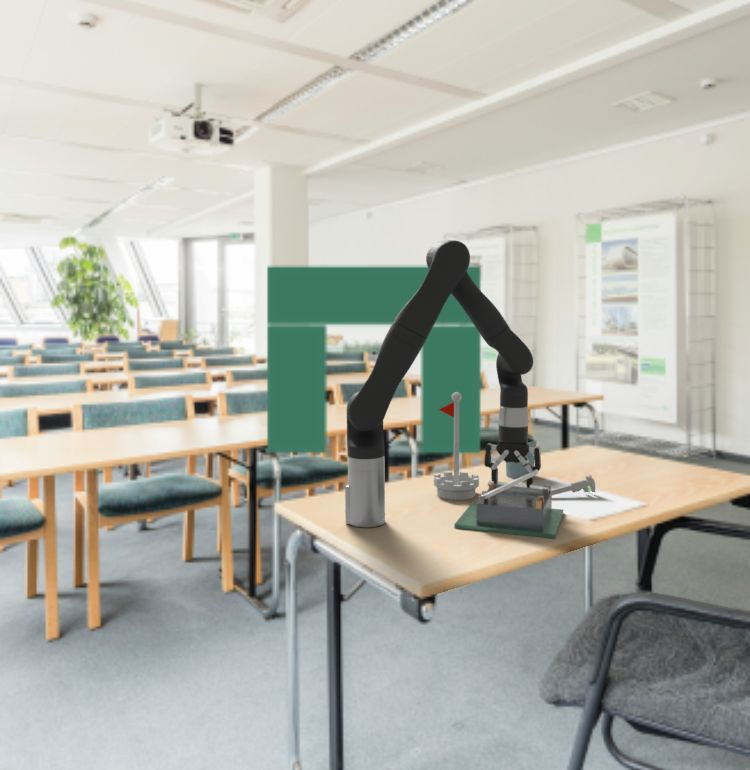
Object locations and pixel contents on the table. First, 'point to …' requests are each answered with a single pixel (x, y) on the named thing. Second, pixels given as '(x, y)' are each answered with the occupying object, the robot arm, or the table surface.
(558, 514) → the base
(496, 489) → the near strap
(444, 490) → the flag stand
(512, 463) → the blue-grey cup
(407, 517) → the table surface
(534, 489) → the far strap
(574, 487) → the caliper
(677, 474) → the table surface
